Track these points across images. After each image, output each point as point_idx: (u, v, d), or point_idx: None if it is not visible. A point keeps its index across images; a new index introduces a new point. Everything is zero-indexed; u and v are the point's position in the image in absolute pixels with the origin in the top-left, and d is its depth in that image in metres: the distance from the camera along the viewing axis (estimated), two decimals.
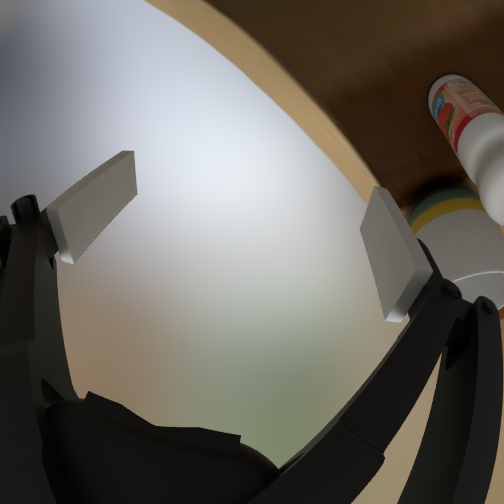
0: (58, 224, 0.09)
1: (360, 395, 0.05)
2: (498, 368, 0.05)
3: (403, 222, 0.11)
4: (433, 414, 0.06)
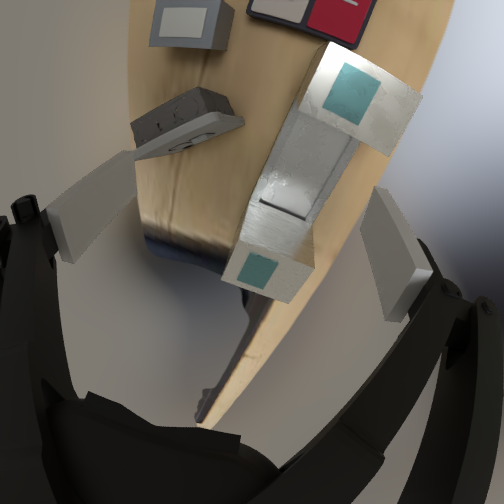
0: (58, 224, 0.09)
1: (360, 395, 0.05)
2: (498, 368, 0.05)
3: (403, 222, 0.11)
4: (433, 414, 0.06)
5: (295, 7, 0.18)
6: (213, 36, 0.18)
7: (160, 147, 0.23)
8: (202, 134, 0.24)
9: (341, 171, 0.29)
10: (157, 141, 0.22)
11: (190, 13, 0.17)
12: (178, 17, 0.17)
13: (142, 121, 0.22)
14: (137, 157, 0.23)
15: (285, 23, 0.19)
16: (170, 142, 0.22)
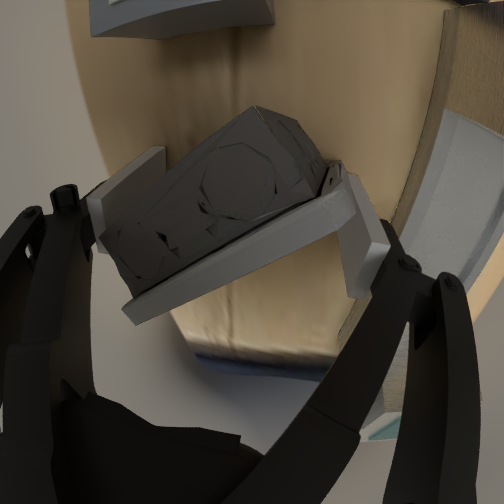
0: (99, 214, 0.10)
1: (326, 377, 0.05)
2: (470, 344, 0.06)
3: (367, 203, 0.11)
4: (408, 396, 0.07)
5: None
6: None
7: None
8: None
9: (502, 230, 0.13)
10: (176, 291, 0.09)
11: None
12: None
13: (122, 231, 0.09)
14: (140, 322, 0.10)
15: None
16: None
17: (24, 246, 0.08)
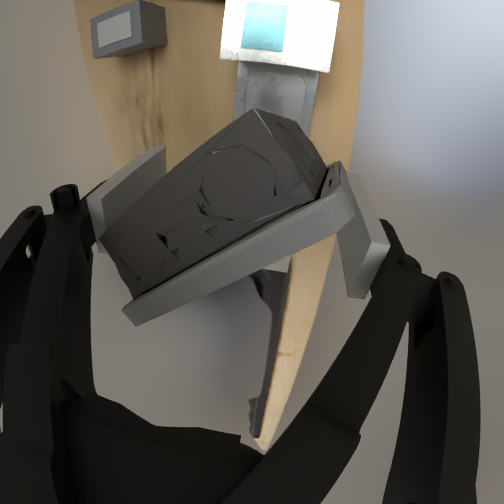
0: (99, 214, 0.10)
1: (326, 376, 0.05)
2: (470, 343, 0.06)
3: (367, 203, 0.11)
4: (407, 396, 0.07)
5: None
6: (141, 31, 0.18)
7: None
8: None
9: (308, 120, 0.26)
10: (176, 293, 0.09)
11: (118, 20, 0.17)
12: (109, 26, 0.18)
13: (122, 232, 0.09)
14: (140, 322, 0.10)
15: None
16: None
17: (24, 246, 0.08)
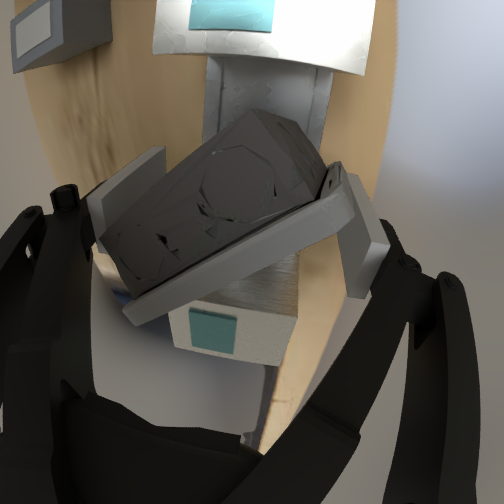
0: (99, 214, 0.10)
1: (326, 376, 0.05)
2: (470, 344, 0.06)
3: (367, 203, 0.11)
4: (407, 396, 0.07)
5: None
6: (62, 27, 0.10)
7: None
8: None
9: (316, 146, 0.18)
10: (176, 293, 0.09)
11: (37, 16, 0.09)
12: (27, 27, 0.09)
13: (122, 233, 0.09)
14: (140, 323, 0.10)
15: None
16: None
17: (24, 246, 0.08)
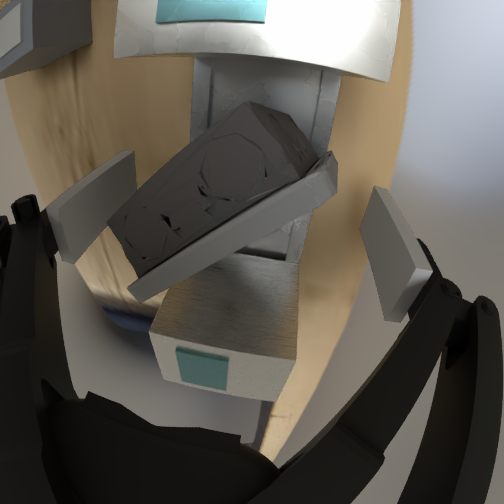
0: (58, 224, 0.09)
1: (360, 395, 0.05)
2: (498, 368, 0.05)
3: (403, 222, 0.11)
4: (433, 414, 0.06)
5: None
6: (32, 31, 0.08)
7: None
8: None
9: None
10: (178, 267, 0.10)
11: (8, 20, 0.07)
12: None
13: (129, 215, 0.10)
14: (144, 299, 0.11)
15: None
16: None
17: None
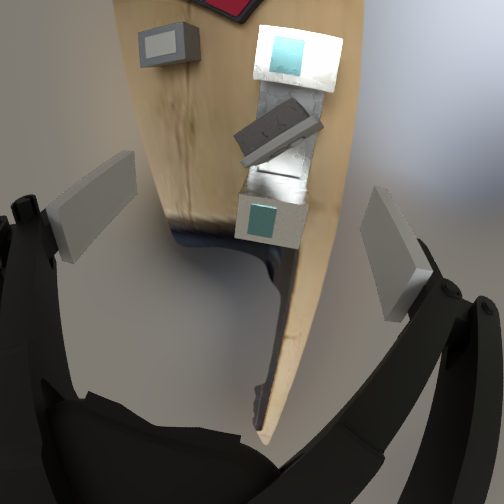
0: (58, 224, 0.09)
1: (360, 395, 0.05)
2: (498, 368, 0.05)
3: (403, 222, 0.11)
4: (433, 414, 0.06)
5: None
6: (184, 49, 0.26)
7: (270, 151, 0.28)
8: (300, 137, 0.29)
9: None
10: (268, 146, 0.27)
11: (164, 37, 0.24)
12: (156, 41, 0.25)
13: (246, 132, 0.28)
14: (249, 163, 0.28)
15: (193, 0, 0.24)
16: (279, 146, 0.27)
17: None
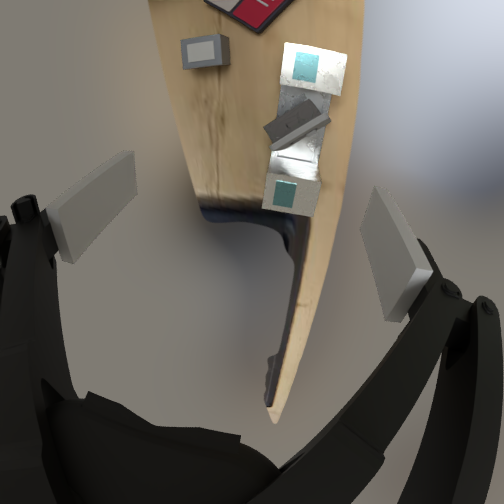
0: (58, 224, 0.09)
1: (360, 395, 0.05)
2: (498, 368, 0.05)
3: (403, 222, 0.11)
4: (433, 414, 0.06)
5: (230, 2, 0.29)
6: (221, 56, 0.33)
7: (292, 139, 0.36)
8: (314, 129, 0.36)
9: None
10: (291, 135, 0.35)
11: (204, 45, 0.32)
12: (197, 49, 0.32)
13: (273, 124, 0.36)
14: (276, 148, 0.36)
15: (221, 10, 0.31)
16: (299, 135, 0.35)
17: None
